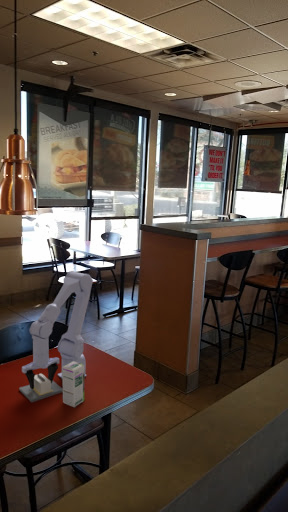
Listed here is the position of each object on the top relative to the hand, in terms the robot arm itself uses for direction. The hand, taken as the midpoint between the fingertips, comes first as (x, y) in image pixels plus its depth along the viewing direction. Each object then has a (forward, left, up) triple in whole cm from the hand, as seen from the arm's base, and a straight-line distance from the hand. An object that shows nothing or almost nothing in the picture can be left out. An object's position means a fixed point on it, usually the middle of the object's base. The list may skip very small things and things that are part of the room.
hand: (41, 385), depth 154 cm
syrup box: (-6, +14, -3) cm, 16 cm away
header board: (0, 0, -2) cm, 2 cm away
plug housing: (0, 0, -1) cm, 1 cm away
